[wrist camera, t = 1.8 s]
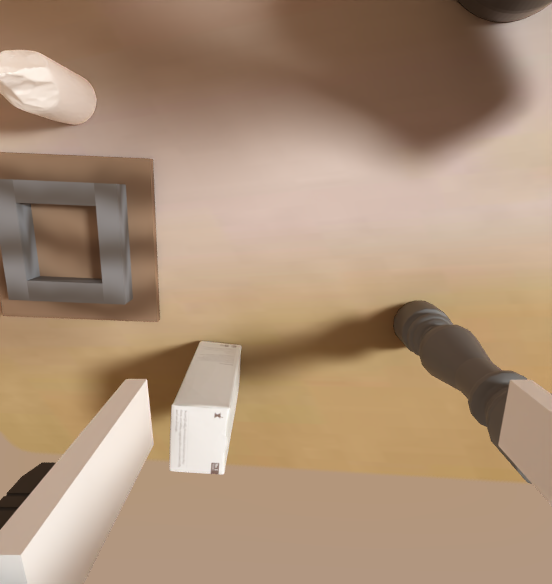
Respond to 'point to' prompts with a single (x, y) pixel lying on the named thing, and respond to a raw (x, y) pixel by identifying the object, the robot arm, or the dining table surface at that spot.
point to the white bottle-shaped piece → (45, 87)
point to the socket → (78, 237)
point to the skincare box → (205, 409)
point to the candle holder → (457, 363)
